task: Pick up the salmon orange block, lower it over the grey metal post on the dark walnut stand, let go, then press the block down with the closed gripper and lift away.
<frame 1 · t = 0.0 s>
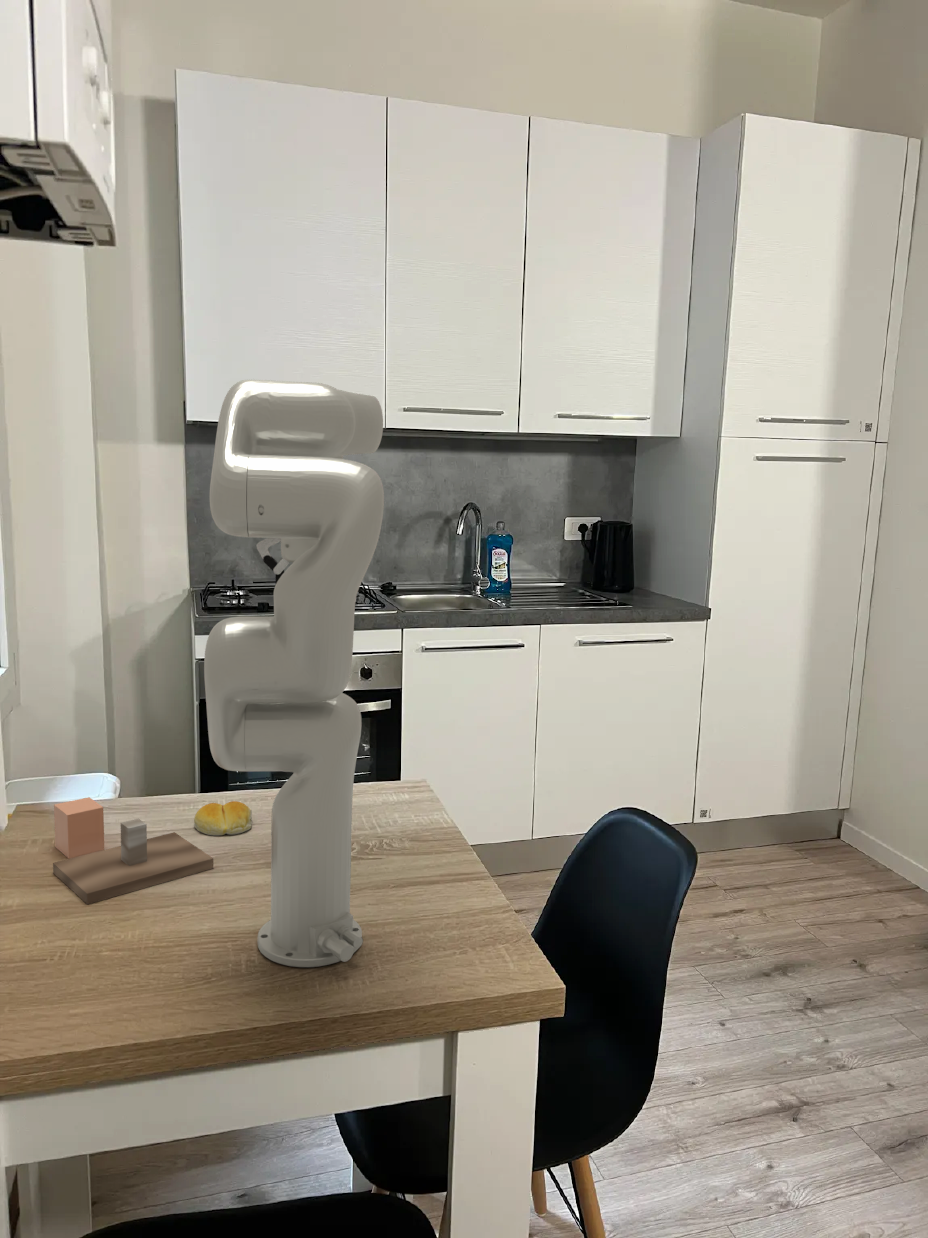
hand: (315, 600, 142), 37 cm above the table, tool pointing down, fingers open, 9 cm apart
bread roll: (224, 828, 151), on the table
salmon orange block: (79, 848, 141), on the table
post stand: (134, 870, 134), on the table
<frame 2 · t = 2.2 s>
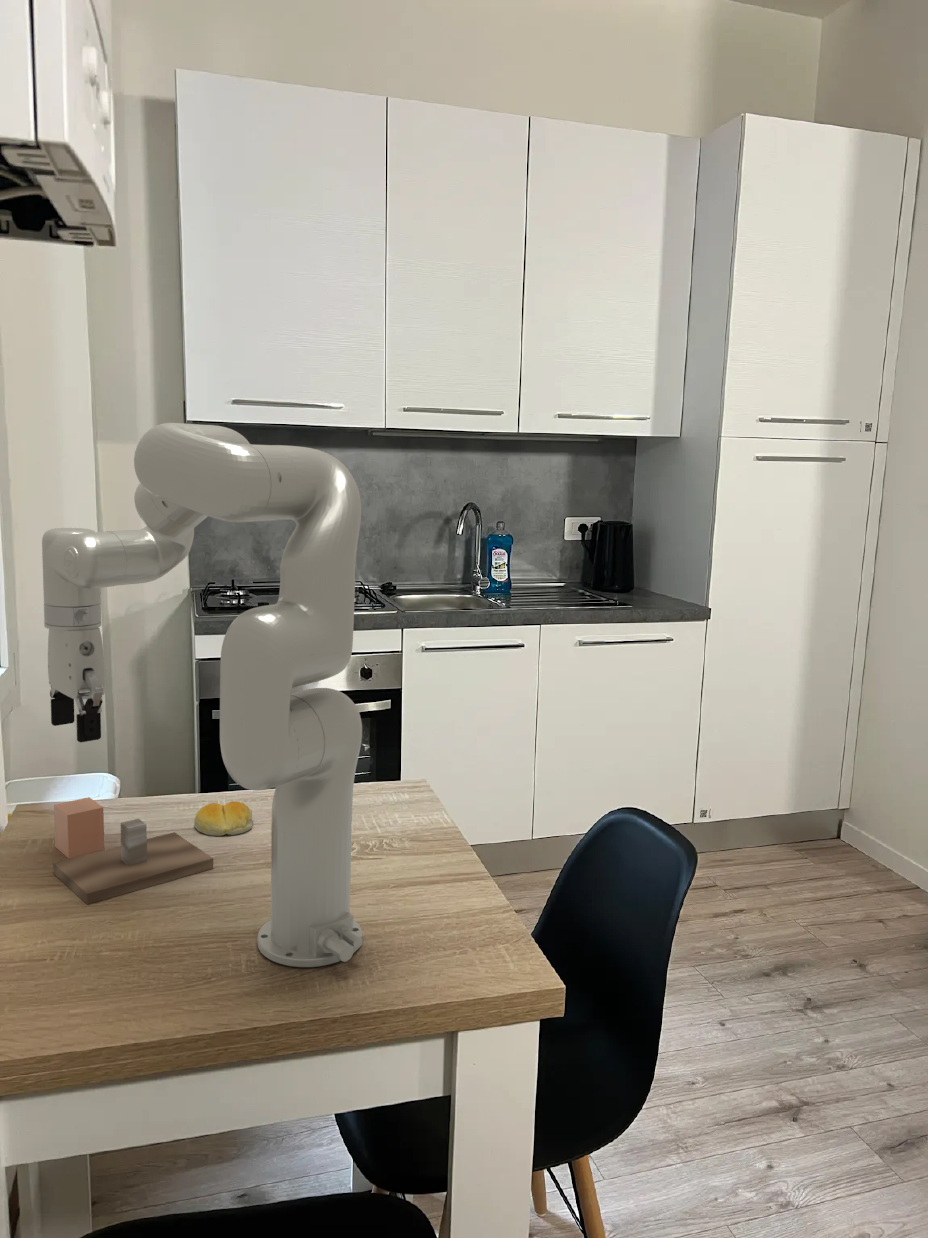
hand: (75, 732, 138), 18 cm above the table, tool pointing down, fingers open, 9 cm apart
nothing on the table moved.
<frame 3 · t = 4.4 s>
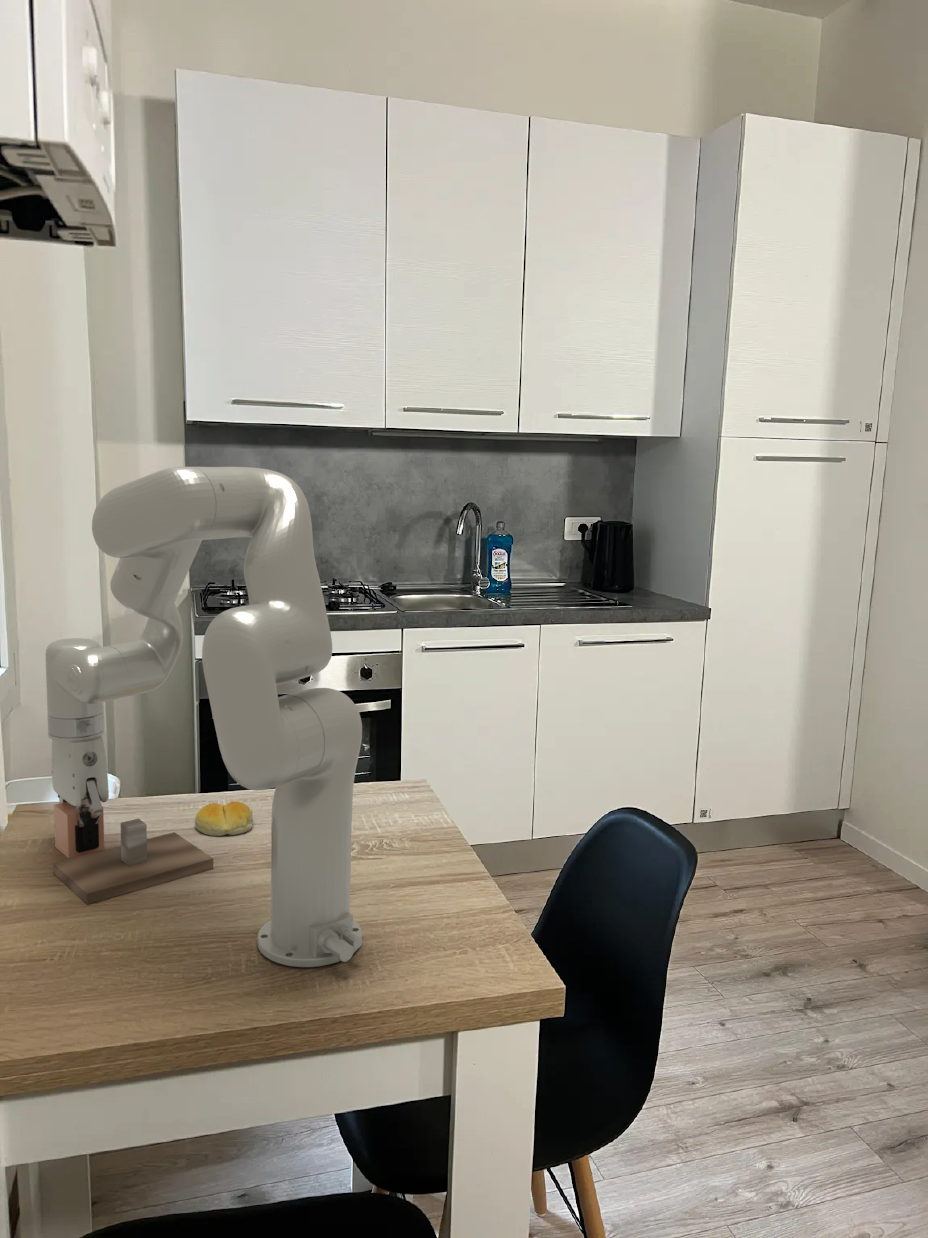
hand: (79, 842, 141), 1 cm above the table, tool pointing down, fingers closed on salmon orange block, 5 cm apart
salmon orange block: (79, 848, 141), on the table, touching gripper
everything else where it was.
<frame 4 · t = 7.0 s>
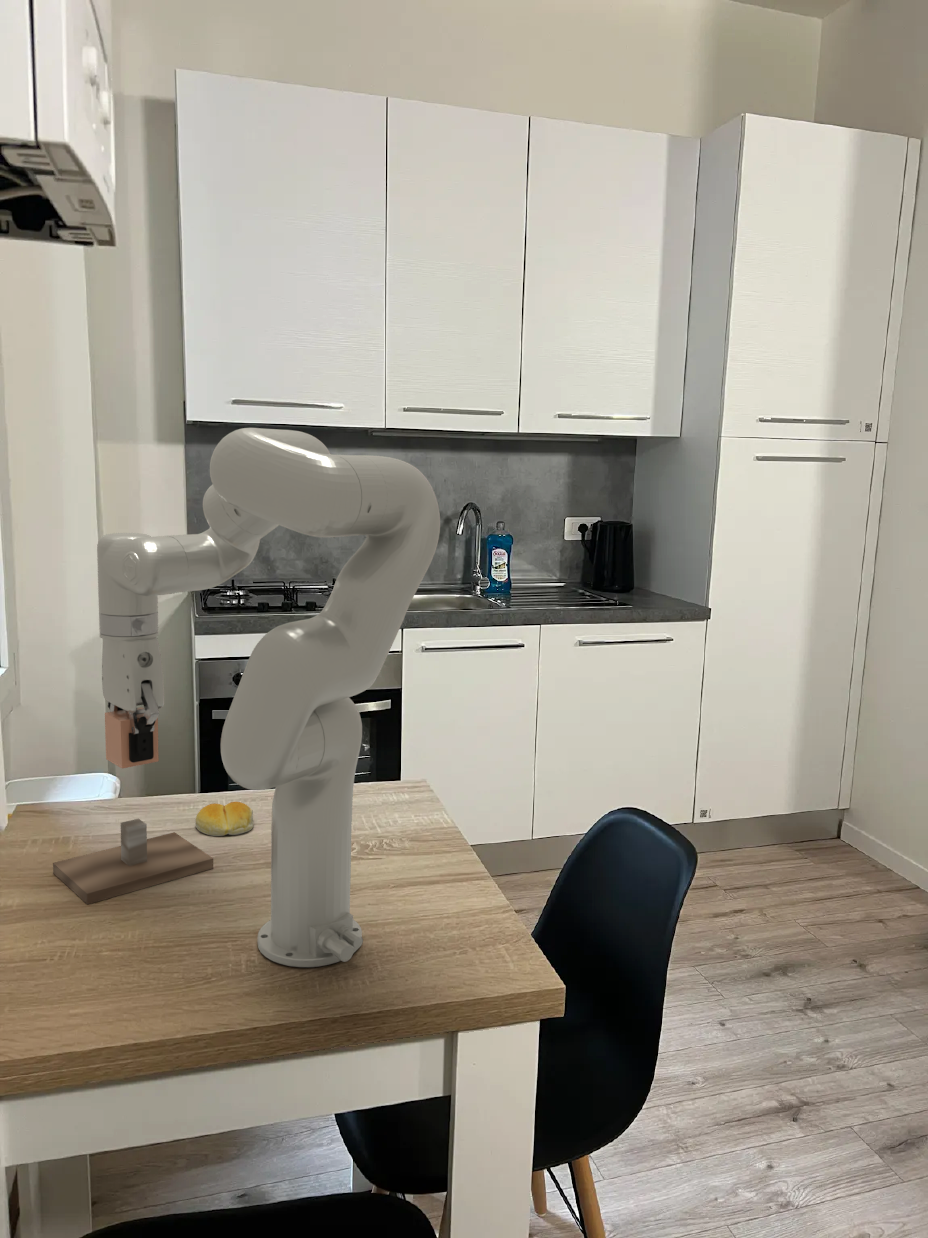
hand: (132, 753, 131), 17 cm above the table, tool pointing down, fingers closed on salmon orange block, 5 cm apart
salmon orange block: (132, 760, 131), point 16 cm above the table, touching gripper
everything else where it was.
when the fingers open (4 cm above the table, at t = 9.9 s): salmon orange block drops 1 cm, resting on post stand.
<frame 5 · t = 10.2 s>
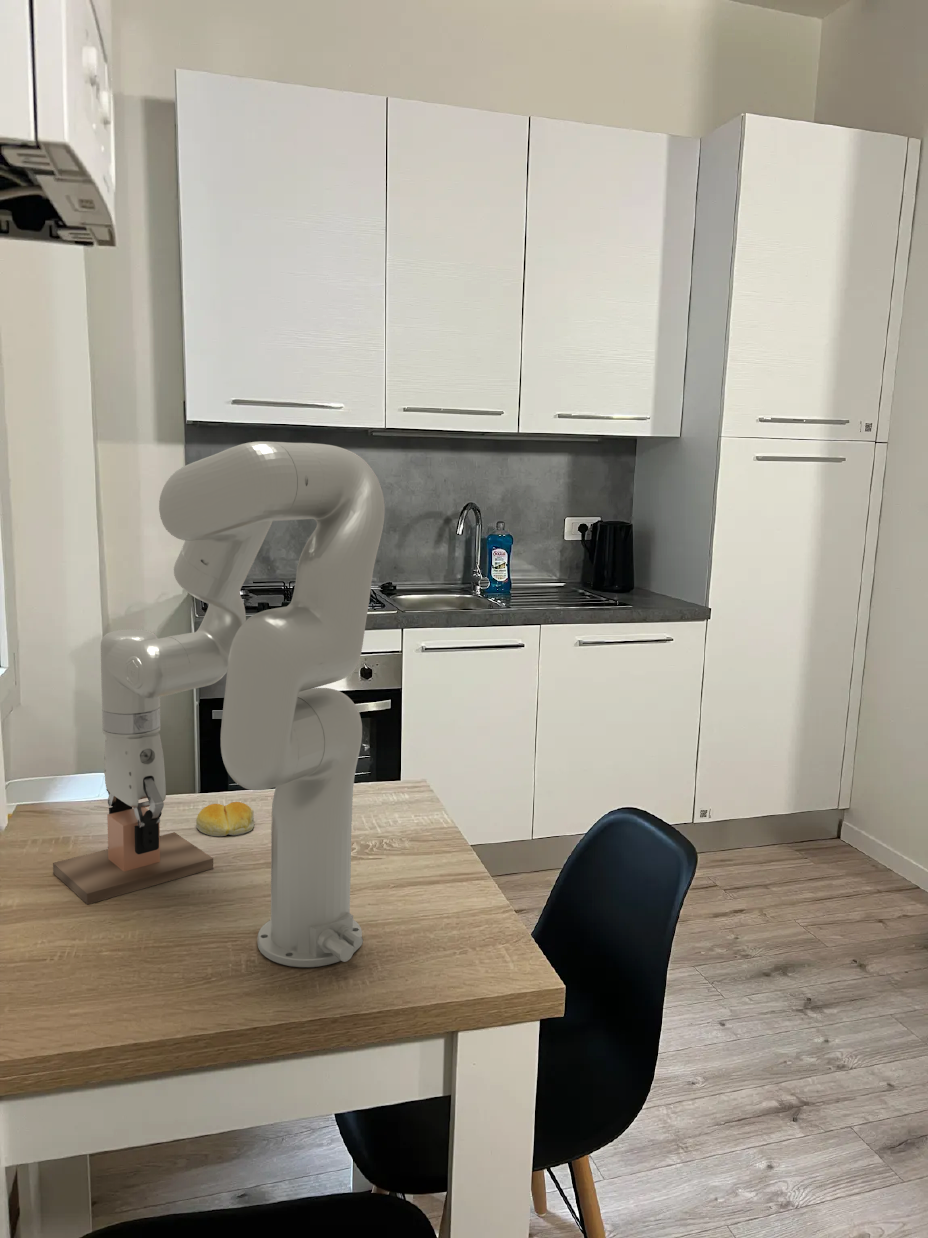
hand: (133, 841, 133), 4 cm above the table, tool pointing down, fingers open, 7 cm apart
salmon orange block: (134, 860, 134), point 1 cm above the table, touching post stand
everything else where it was.
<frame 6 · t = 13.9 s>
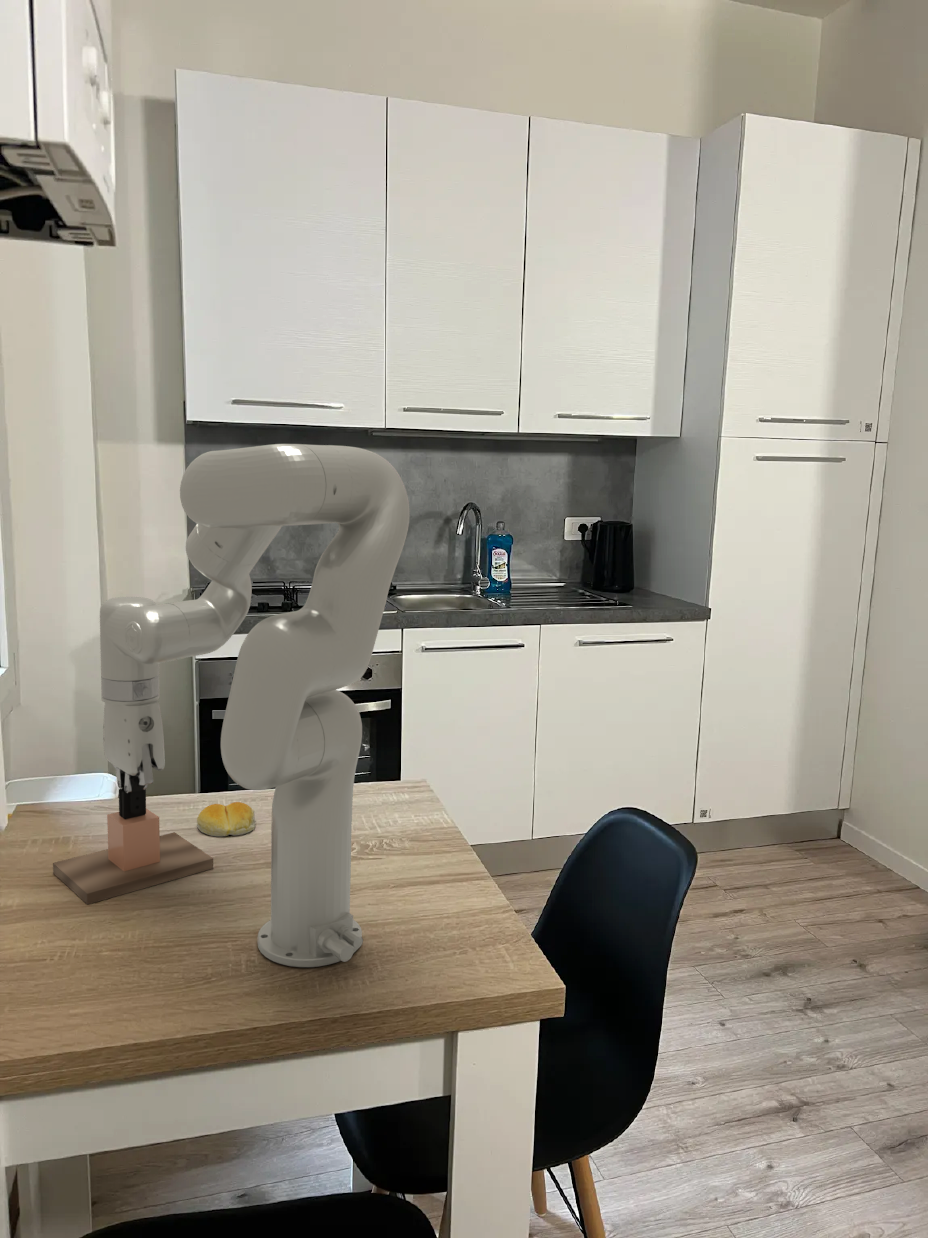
hand: (132, 815, 133), 8 cm above the table, tool pointing down, fingers closed
salmon orange block: (134, 860, 134), point 2 cm above the table, touching gripper, post stand
everything else where it was.
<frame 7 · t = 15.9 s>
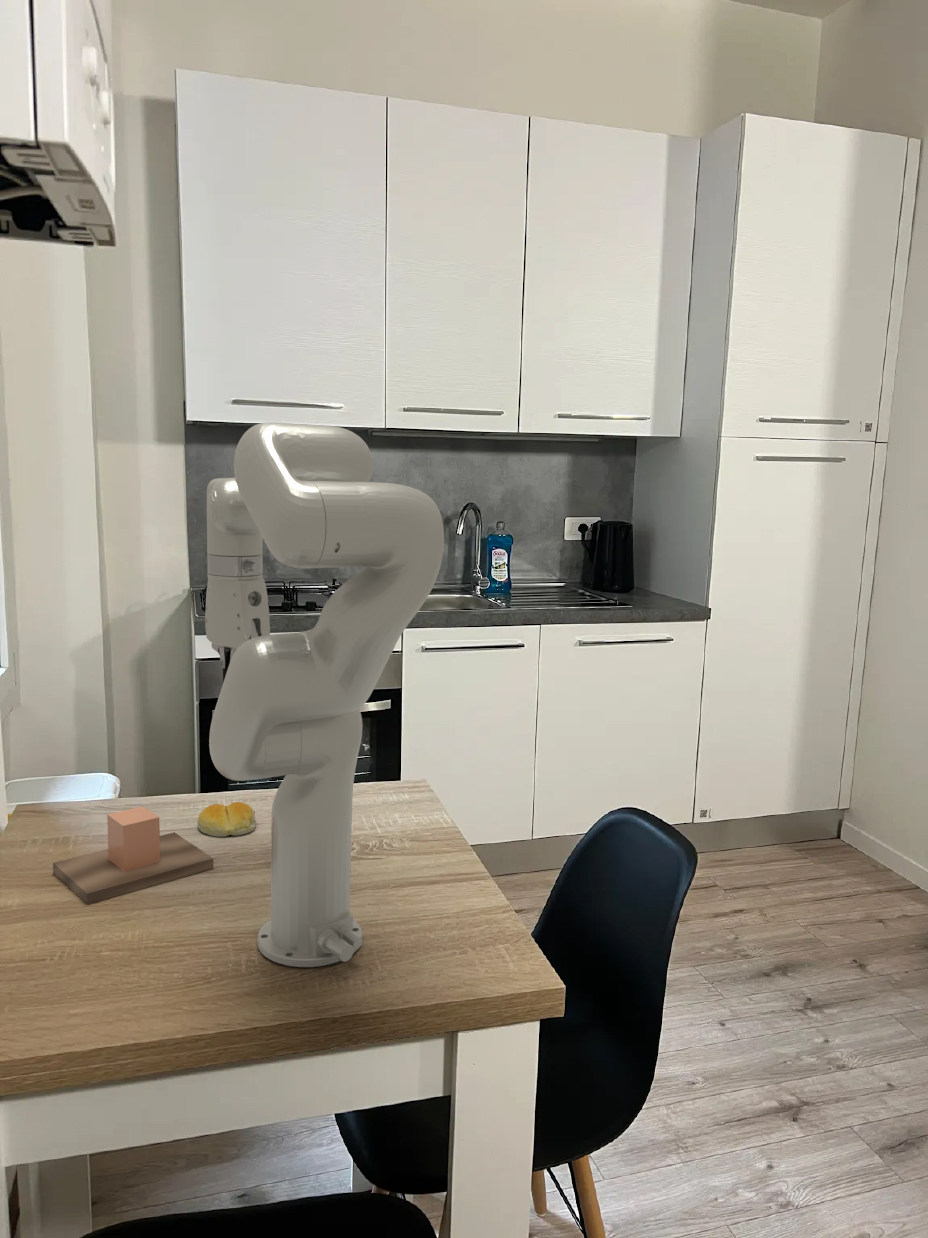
hand: (235, 694, 136), 24 cm above the table, tool pointing down, fingers closed
salmon orange block: (134, 860, 134), point 1 cm above the table, touching post stand
everything else where it was.
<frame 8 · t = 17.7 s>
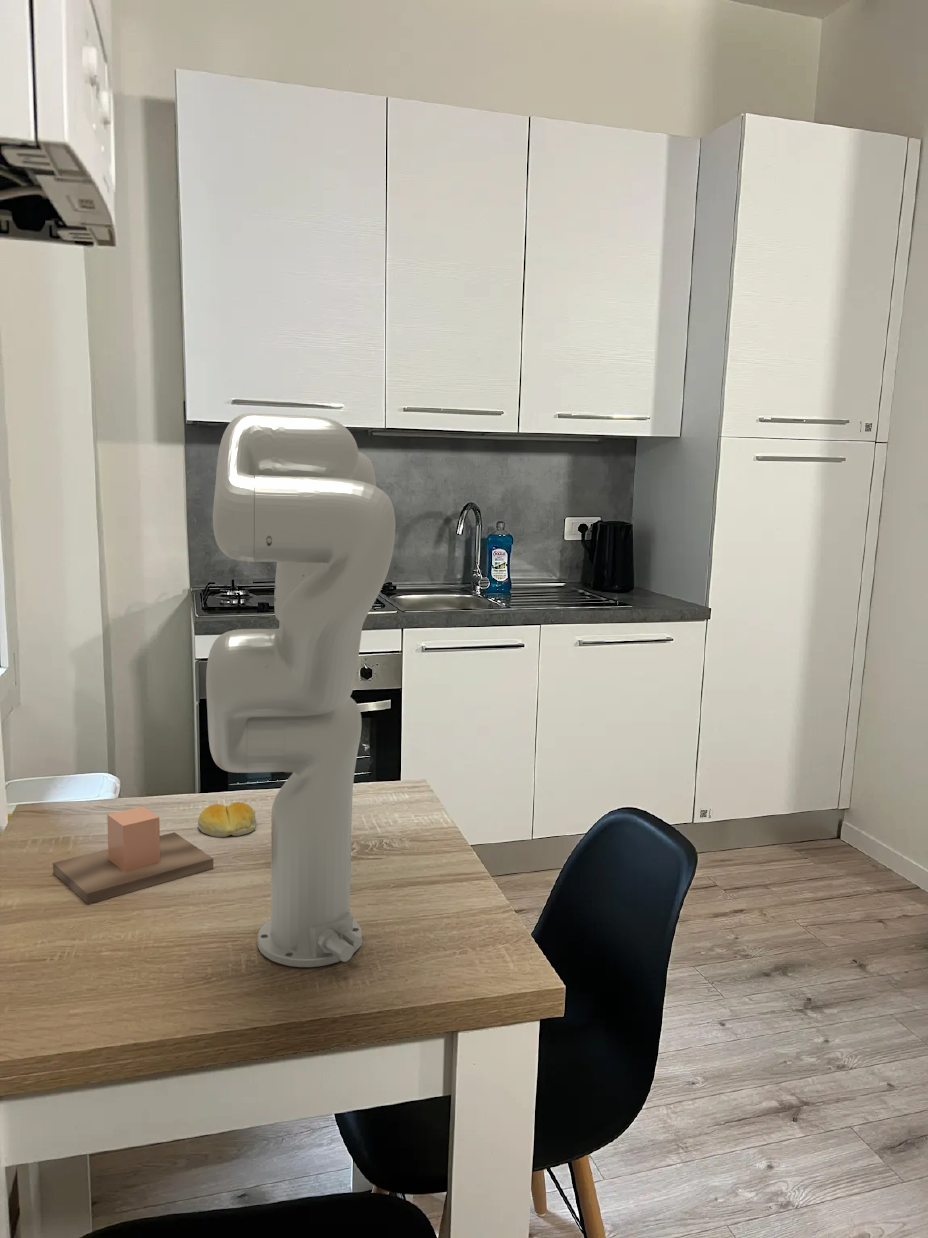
hand: (302, 672, 140), 27 cm above the table, tool pointing down, fingers closed
nothing on the table moved.
at the end: salmon orange block 0.0 cm from the post stand (horizontally); salmon orange block point 1.5 cm above the table; the gripper is holding nothing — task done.
